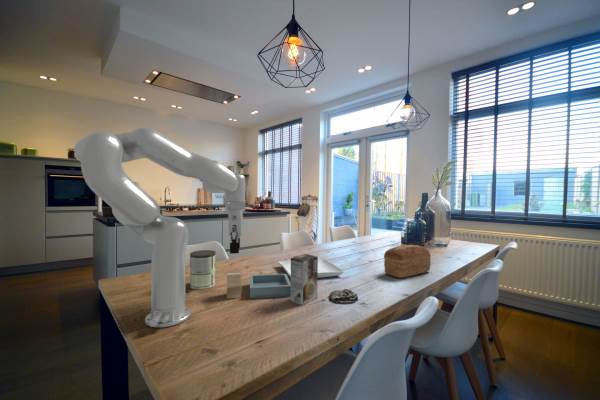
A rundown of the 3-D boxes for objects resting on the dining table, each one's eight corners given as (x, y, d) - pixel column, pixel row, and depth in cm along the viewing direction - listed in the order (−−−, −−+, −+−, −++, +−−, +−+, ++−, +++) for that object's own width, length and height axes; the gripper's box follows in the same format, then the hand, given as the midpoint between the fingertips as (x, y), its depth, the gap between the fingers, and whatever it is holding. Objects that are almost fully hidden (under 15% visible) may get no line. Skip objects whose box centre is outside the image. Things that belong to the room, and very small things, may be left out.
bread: (379, 274, 131) (380, 246, 131) (413, 267, 146) (414, 241, 146) (400, 281, 121) (400, 250, 121) (434, 272, 136) (434, 245, 136)
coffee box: (304, 294, 103) (305, 253, 103) (317, 298, 99) (318, 256, 99) (289, 300, 96) (290, 257, 96) (303, 305, 92) (303, 260, 92)
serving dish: (291, 296, 101) (291, 285, 101) (249, 298, 98) (249, 287, 98) (286, 282, 116) (286, 273, 116) (249, 284, 113) (250, 275, 113)
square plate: (277, 267, 142) (277, 260, 142) (323, 264, 151) (323, 257, 151) (290, 283, 117) (290, 274, 117) (345, 278, 125) (345, 270, 125)
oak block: (240, 297, 98) (240, 274, 98) (226, 298, 97) (227, 274, 97) (240, 292, 103) (241, 270, 103) (227, 293, 102) (228, 270, 102)
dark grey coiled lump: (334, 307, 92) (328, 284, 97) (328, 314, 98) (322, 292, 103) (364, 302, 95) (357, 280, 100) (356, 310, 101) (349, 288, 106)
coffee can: (187, 284, 113) (187, 251, 112) (210, 279, 119) (211, 249, 119) (193, 291, 104) (193, 256, 104) (218, 286, 110) (218, 253, 110)
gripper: (244, 207, 92) (244, 255, 93) (245, 205, 109) (245, 245, 110) (222, 207, 91) (222, 256, 91) (227, 205, 108) (227, 246, 108)
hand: (235, 250), depth 100 cm, fingers open, 9 cm apart
